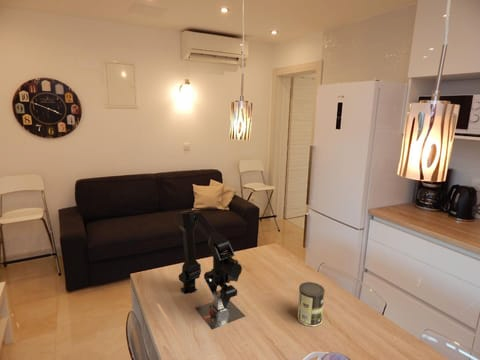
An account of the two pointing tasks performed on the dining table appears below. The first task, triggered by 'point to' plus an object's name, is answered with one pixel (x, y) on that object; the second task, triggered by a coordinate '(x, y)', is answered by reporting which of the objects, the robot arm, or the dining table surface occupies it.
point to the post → (218, 301)
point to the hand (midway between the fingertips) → (219, 301)
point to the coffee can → (310, 304)
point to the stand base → (219, 314)
